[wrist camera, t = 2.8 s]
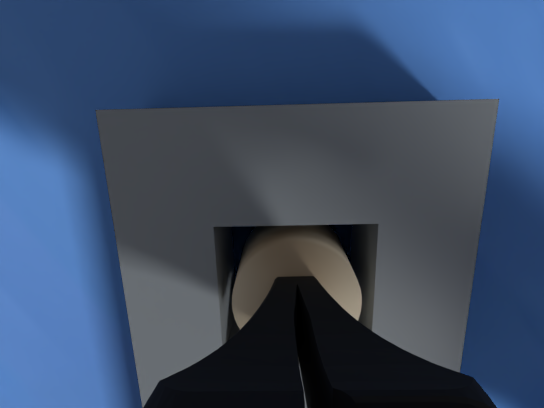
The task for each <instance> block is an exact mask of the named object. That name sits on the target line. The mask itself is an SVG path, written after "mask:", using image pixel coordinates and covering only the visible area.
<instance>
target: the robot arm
mask: <svg viewBox="0 0 544 408" xmlns="http://www.w3.org/2000/svg"><path fill="white" fill-rule="evenodd" d="M298 360H299V361H298ZM299 365H300V368H299ZM300 371H301V374H300ZM301 377H302V380H301ZM302 382H303V385H302ZM303 388H304V390H303ZM304 394H305V399H306V405H307V408H497V407H496V406H495V404H494V403H493V402H492V400H491V399H490V397H489V396H488V395H487V394H486V392H485V391H484V390H483V389H482V388H481V386H480V385H479V384H478V383H477V382H476V380H475V379H474V378H473V377H470V376H468V375H465V374H462V373H459V372H456V371H453V370H451V369H448V368H445V367H442V366H439V365H437V364H434V363H432V362H429V361H427V360H425V359H423V358H420V357H418V356H416V355H414V354H411V353H409V352H407V351H405V350H403V349H401V348H399V347H398V346H396V345H394V344H392V343H391V342H389V341H387V340H385V339H384V338H382V337H380V336H379V335H377V334H376V333H374V332H373V331H371V330H370V329H368V328H367V327H366V326H364V325H363V324H361V323H360V322H359V321H357V320H356V319H355V318H354V317H352V316H351V315H350V314H349V313H348V312H347V311H346V310H344V309H343V308H342V307H341V306H340V305H339V304H338V303H337V302H336V301H335V300H334V299H333V298H332V296H331V295H330V294H329V293H328V292H327V291H326V290H325V289H324V287H323V286H322V285H321V284H320V283H319V281H318V280H317V279H316V278H315V277H314V276H289V277H277V278H276V279H275V280H274V283H273V285H272V287H271V289H270V291H269V293H268V294H267V296H266V298H265V299H264V301H263V302H262V304H261V305H260V307H259V308H258V309H257V311H256V312H255V313H254V314H253V316H252V317H251V318H250V319H249V321H248V322H247V323H246V324H245V325H244V326H243V327H242V328H241V329H240V330H239V331H238V332H237V333H236V334H235V335H234V336H233V337H232V338H231V339H230V340H228V341H227V342H226V343H225V344H223V345H222V346H221V347H219V348H218V349H217V350H215V351H214V352H212V353H211V354H209V355H208V356H206V357H205V358H203V359H201V360H200V361H198V362H196V363H195V364H193V365H191V366H189V367H187V368H185V369H183V370H181V371H179V372H177V373H175V374H173V375H171V376H169V377H167V378H165V379H162V380H160V381H159V382H158V384H157V386H156V387H155V389H154V391H153V392H152V394H151V395H150V397H149V399H148V400H147V402H146V404H145V405H144V407H143V408H305V400H304Z"/></svg>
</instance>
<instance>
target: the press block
mask: <svg viewBox="0 0 544 408" xmlns="http://www.w3.org/2000/svg"><path fill="white" fill-rule="evenodd" d="M498 104H499V99H480V100H444V101H407V102H370V103H334V104H297V105H260V106H224V107H187V108H151V109H114V110H96V117H97V123H98V129H99V136H100V142H101V148H102V155H103V161H104V167H105V174H106V180H107V186H108V193H109V199H110V205H111V212H112V218H113V224H114V231H115V237H116V243H117V250H118V256H119V262H120V269H121V275H122V281H123V288H124V294H125V300H126V307H127V313H128V319H129V326H130V332H131V338H132V345H133V351H134V357H135V364H136V370H137V376H138V383H139V389H140V395H141V402H142V408H143V407H144V405H145V404H146V402H147V400H148V399H149V397H150V395H151V394H152V392H153V391H154V389H155V387H156V386H157V384H158V382H159V381H160V380H162V379H165V378H167V377H169V376H171V375H173V374H175V373H177V372H179V371H181V370H183V369H185V368H187V367H189V366H191V365H193V364H195V363H196V362H198V361H200V360H201V359H203V358H205V357H206V356H208V355H209V354H211V353H212V352H214V351H215V350H217V349H218V348H219V347H221V346H222V345H223V344H225V343H226V342H227V341H228V340H230V339H231V338H232V337H233V336H234V335H235V334H236V333H237V332H238V331H239V330H240V329H239V327H238V325H237V323H236V321H235V318H234V314H233V310H232V294H233V288H234V284H235V275H234V258H233V242H232V227H233V226H287V225H340V224H352V238H351V267H352V269H353V271H354V273H355V275H356V278H357V280H358V283H359V286H360V289H361V295H362V306H361V312H360V316H359V319H358V321H359V322H360V323H361V324H363V325H364V326H366V327H367V328H368V329H370V330H371V331H373V332H374V333H376V334H377V335H379V336H380V337H382V338H384V339H385V340H387V341H389V342H391V343H392V344H394V345H396V346H398V347H399V348H401V349H403V350H405V351H407V352H409V353H411V354H414V355H416V356H418V357H420V358H423V359H425V360H427V361H429V362H432V363H434V364H437V365H439V366H442V367H445V368H448V369H451V370H453V371H456V372H459V373H460V367H461V360H462V354H463V347H464V340H465V333H466V326H467V319H468V312H469V305H470V298H471V291H472V284H473V277H474V270H475V263H476V256H477V249H478V242H479V235H480V229H481V222H482V215H483V208H484V201H485V194H486V187H487V180H488V173H489V166H490V159H491V152H492V145H493V138H494V131H495V124H496V117H497V110H498ZM298 361H299V360H298ZM299 368H300V365H299ZM300 374H301V371H300ZM301 380H302V377H301ZM302 385H303V382H302ZM303 390H304V388H303ZM304 400H305V408H307V405H306V399H305V394H304Z"/></svg>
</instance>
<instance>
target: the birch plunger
mask: <svg viewBox="0 0 544 408" xmlns="http://www.w3.org/2000/svg"><path fill="white" fill-rule="evenodd" d="M289 276H314V277H315V278H316V279H317V280H318V281H319V283H320V284H321V285H322V286H323V287H324V289H325V290H326V291H327V292H328V293H329V294H330V295H331V296H332V298H333V299H334V300H335V301H336V302H337V303H338V304H339V305H340V306H341V307H342V308H343V309H344V310H346V311H347V312H348V313H349V314H350V315H351V316H352V317H354V318H355V319H356V320H357V321H358V319H359V316H360V312H361V306H362V295H361V289H360V286H359V283H358V280H357V278H356V275H355V273H354V271H353V269H352V267H351V264H350V262H349V260H348V258H347V256H346V253H345V251H344V249H343V247H342V245H341V242H340V240H339V238H338V236H337V235H336V233H335V232H334V230H333V229H332V228H331V227H330V226H329V225H287V226H256V227H255V228H254V229H253V230H252V232H251V233H250V235H249V236H248V238H247V240H246V242H245V245H244V248H243V252H242V256H241V260H240V264H239V268H238V272H237V276H236V280H235V284H234V288H233V294H232V310H233V314H234V318H235V321H236V323H237V325H238V327H239V329H241V328H242V327H243V326H244V325H245V324H246V323H247V322H248V321H249V319H250V318H251V317H252V316H253V314H254V313H255V312H256V311H257V309H258V308H259V307H260V305H261V304H262V302H263V301H264V299H265V298H266V296H267V294H268V293H269V291H270V289H271V287H272V285H273V283H274V280H275V279H276V278H277V277H289Z"/></svg>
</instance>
